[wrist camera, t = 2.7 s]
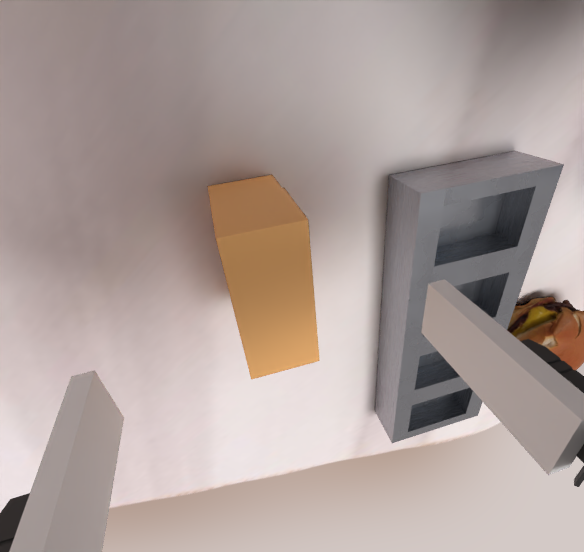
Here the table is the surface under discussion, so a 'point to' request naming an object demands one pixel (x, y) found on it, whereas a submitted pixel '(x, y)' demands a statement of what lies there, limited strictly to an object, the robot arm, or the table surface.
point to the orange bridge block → (267, 272)
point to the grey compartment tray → (452, 273)
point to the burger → (551, 328)
